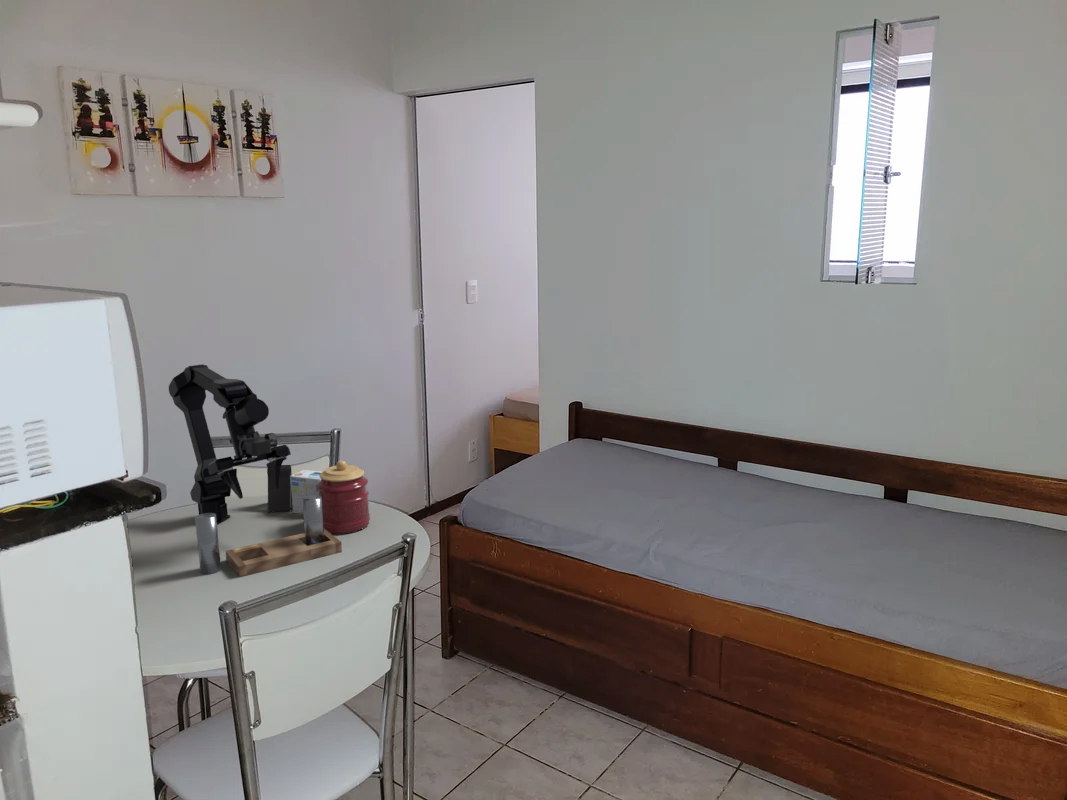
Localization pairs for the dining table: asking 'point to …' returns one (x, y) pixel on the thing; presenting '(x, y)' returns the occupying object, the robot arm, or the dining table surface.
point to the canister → (344, 498)
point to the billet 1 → (208, 543)
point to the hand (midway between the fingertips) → (259, 493)
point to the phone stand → (280, 491)
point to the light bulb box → (303, 487)
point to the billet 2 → (313, 519)
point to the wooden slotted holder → (279, 553)
